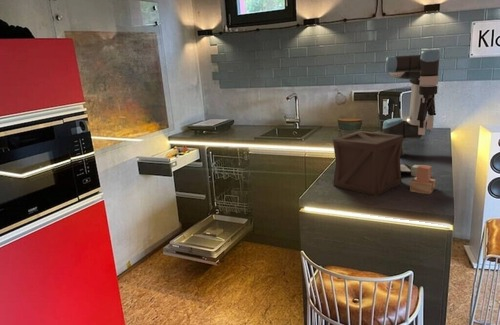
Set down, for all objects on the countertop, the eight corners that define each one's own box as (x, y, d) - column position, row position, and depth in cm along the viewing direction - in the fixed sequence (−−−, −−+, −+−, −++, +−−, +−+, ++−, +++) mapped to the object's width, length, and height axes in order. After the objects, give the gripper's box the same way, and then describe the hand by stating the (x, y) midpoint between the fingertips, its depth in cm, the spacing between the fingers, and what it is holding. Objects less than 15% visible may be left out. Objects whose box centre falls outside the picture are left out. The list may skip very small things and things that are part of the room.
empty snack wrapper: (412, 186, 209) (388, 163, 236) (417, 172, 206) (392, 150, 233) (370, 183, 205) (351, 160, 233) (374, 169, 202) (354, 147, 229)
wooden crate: (359, 174, 215) (358, 130, 208) (402, 182, 197) (403, 134, 190) (333, 186, 199) (332, 139, 192) (377, 196, 181) (378, 144, 174)
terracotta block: (419, 178, 187) (420, 164, 185) (430, 180, 184) (431, 166, 182) (416, 181, 183) (417, 167, 181) (427, 182, 180) (428, 168, 178)
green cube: (413, 173, 210) (414, 164, 208) (423, 174, 207) (424, 165, 205) (411, 175, 206) (411, 167, 204) (421, 177, 203) (421, 168, 201)
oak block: (415, 186, 191) (415, 176, 189) (434, 189, 185) (435, 179, 184) (409, 191, 184) (410, 182, 183) (429, 194, 179) (430, 184, 177)
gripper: (427, 83, 183) (424, 126, 189) (411, 88, 165) (408, 136, 170) (444, 82, 178) (441, 127, 184) (429, 88, 160) (426, 137, 166)
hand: (425, 131), depth 177 cm, fingers open, 13 cm apart
